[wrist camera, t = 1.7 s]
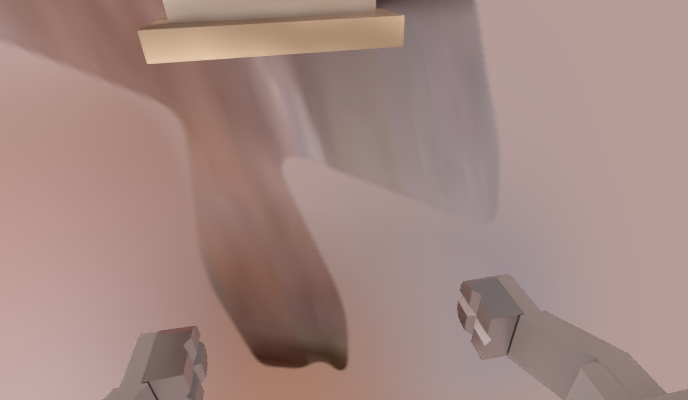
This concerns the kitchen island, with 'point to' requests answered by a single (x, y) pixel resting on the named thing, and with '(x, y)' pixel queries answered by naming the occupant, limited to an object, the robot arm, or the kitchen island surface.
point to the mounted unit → (267, 28)
